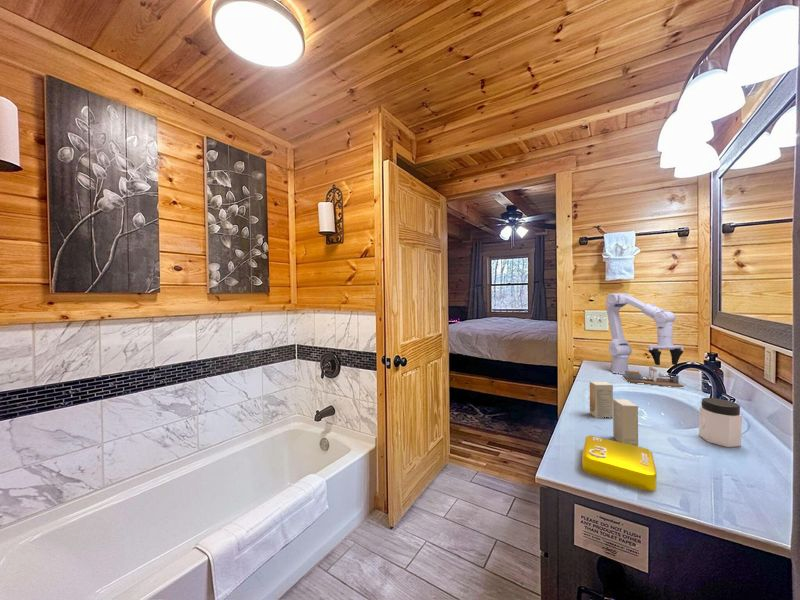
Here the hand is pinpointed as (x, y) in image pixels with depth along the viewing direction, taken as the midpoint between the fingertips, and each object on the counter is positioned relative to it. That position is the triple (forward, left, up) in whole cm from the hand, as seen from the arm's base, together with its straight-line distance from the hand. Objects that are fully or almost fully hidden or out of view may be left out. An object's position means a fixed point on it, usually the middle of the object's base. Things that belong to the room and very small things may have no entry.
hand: (665, 364), depth 149 cm
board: (-4, -4, -10) cm, 12 cm away
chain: (-4, -8, -9) cm, 13 cm away
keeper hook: (-4, +2, -9) cm, 10 cm away
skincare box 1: (+53, -37, -10) cm, 65 cm away
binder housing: (-4, -12, -10) cm, 16 cm away
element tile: (+89, -41, -11) cm, 99 cm away
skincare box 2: (+72, -35, -10) cm, 81 cm away
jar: (+61, -8, -10) cm, 63 cm away
